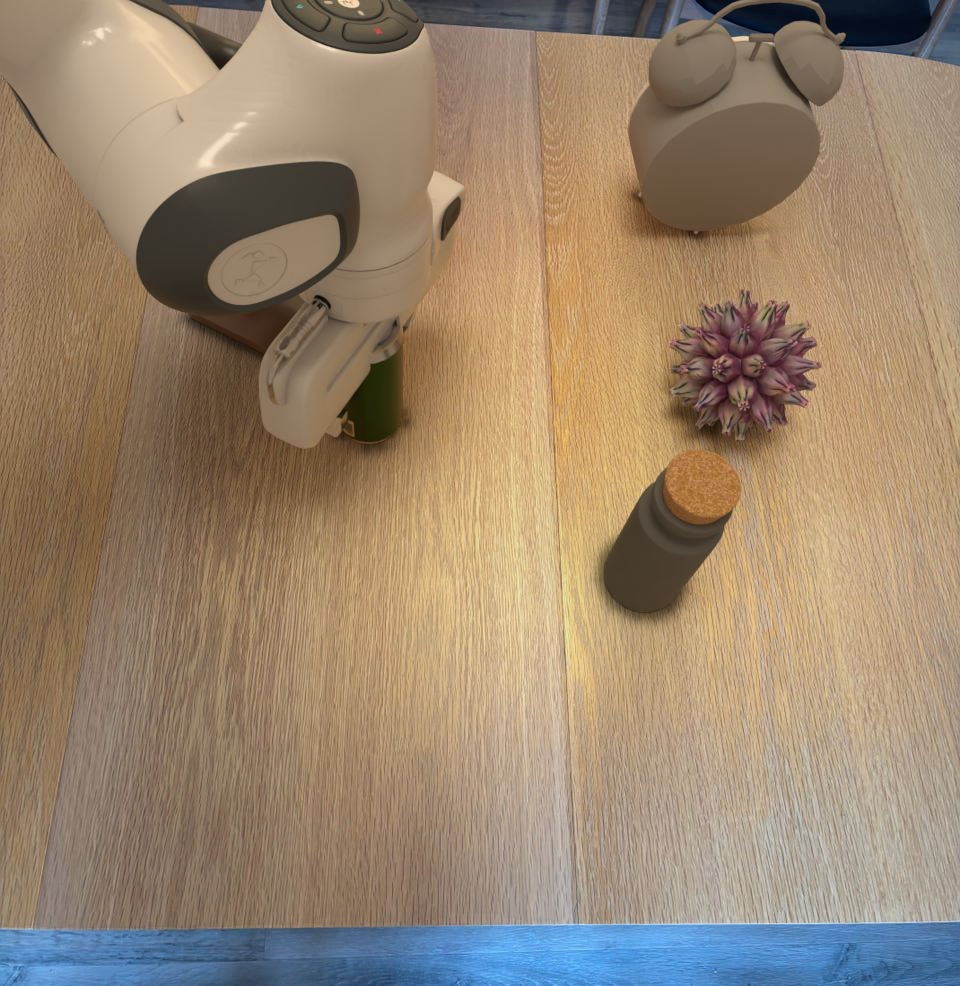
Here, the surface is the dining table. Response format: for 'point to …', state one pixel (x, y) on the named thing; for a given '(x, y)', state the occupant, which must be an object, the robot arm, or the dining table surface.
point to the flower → (743, 365)
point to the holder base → (255, 323)
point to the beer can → (379, 392)
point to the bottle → (672, 530)
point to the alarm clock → (731, 118)
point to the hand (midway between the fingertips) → (366, 381)
